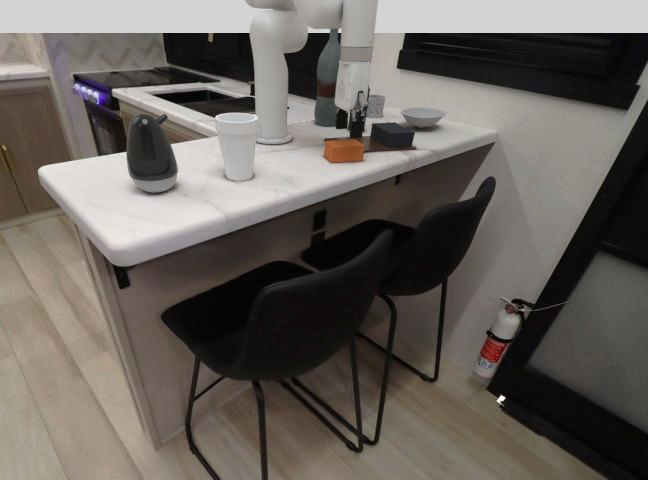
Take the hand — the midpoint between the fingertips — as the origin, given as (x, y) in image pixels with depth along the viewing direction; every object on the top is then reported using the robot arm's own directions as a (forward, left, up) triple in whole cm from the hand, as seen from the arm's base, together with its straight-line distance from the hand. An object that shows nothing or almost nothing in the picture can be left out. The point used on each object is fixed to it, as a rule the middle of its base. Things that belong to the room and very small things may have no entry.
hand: (348, 133), depth 99 cm
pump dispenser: (-49, -11, -7) cm, 51 cm away
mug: (+30, +48, -7) cm, 56 cm away
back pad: (+20, +12, -6) cm, 24 cm away
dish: (+40, +28, -7) cm, 49 cm away
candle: (+16, +29, -7) cm, 33 cm away
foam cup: (-30, -7, -7) cm, 32 cm away
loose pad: (0, +1, -7) cm, 7 cm away
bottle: (+8, +38, -7) cm, 40 cm away
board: (+13, +12, -7) cm, 18 cm away
